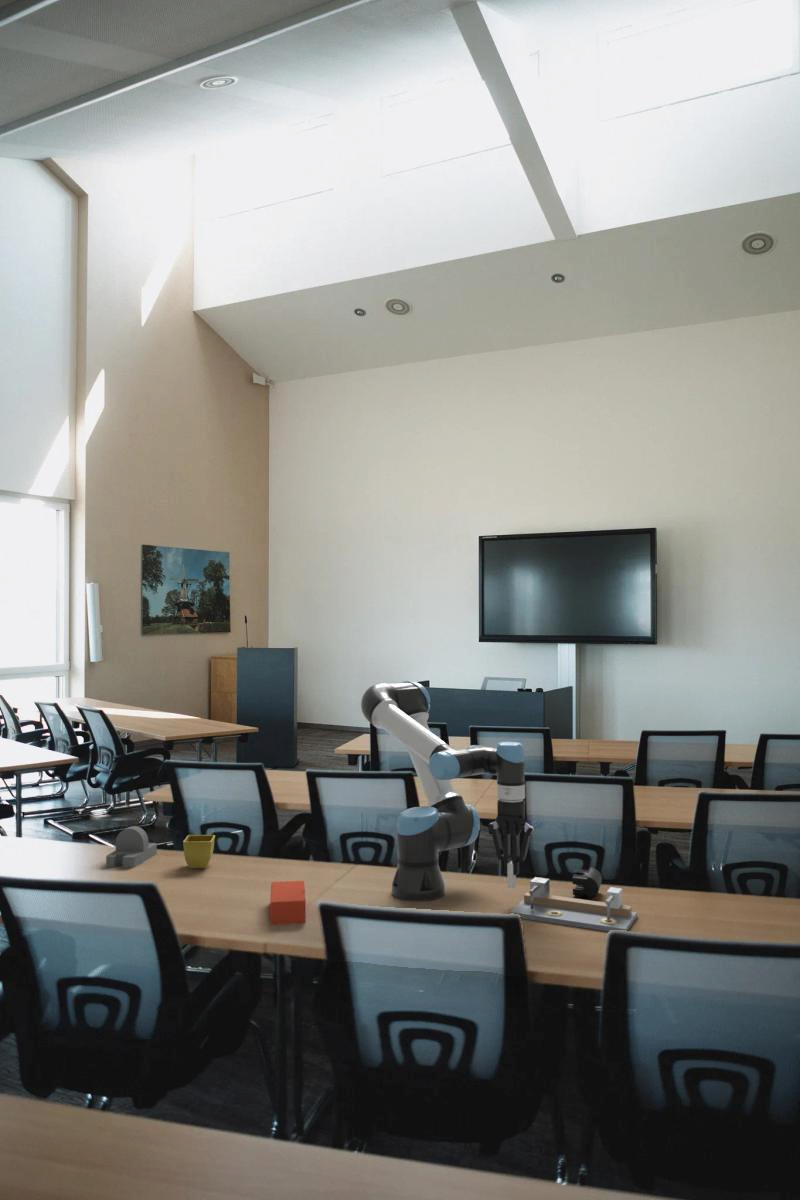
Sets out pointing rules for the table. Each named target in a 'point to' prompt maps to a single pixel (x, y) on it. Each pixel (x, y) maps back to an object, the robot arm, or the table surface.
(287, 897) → the brick
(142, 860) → the bracket
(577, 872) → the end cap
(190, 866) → the flower pot
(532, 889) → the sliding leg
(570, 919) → the board
